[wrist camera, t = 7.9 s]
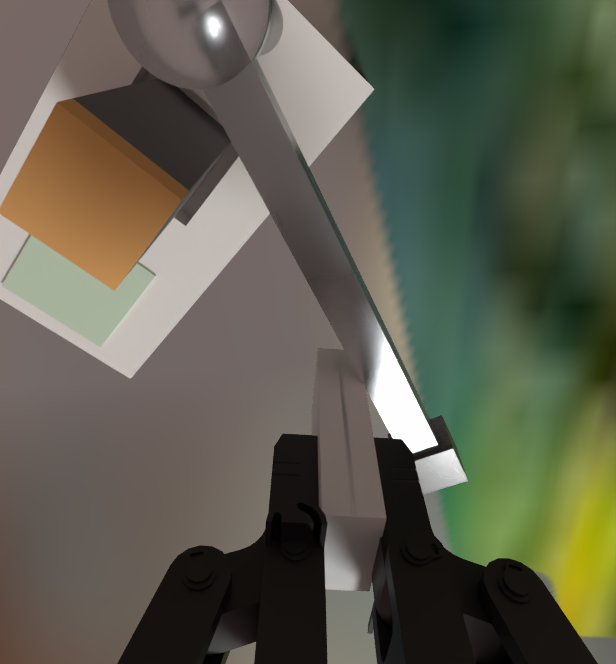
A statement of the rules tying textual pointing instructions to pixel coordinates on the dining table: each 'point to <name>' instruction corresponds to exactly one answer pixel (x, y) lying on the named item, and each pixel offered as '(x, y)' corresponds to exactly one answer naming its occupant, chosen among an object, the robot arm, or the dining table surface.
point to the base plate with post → (197, 213)
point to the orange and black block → (113, 174)
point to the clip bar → (286, 194)
